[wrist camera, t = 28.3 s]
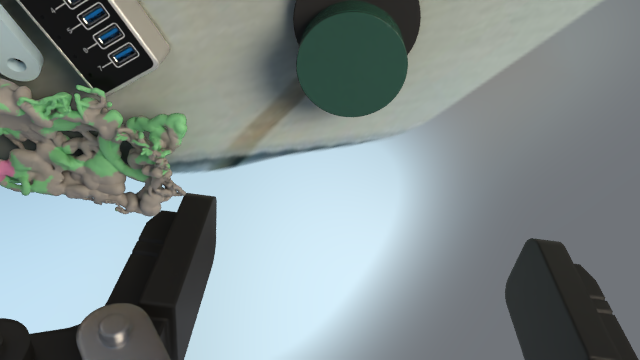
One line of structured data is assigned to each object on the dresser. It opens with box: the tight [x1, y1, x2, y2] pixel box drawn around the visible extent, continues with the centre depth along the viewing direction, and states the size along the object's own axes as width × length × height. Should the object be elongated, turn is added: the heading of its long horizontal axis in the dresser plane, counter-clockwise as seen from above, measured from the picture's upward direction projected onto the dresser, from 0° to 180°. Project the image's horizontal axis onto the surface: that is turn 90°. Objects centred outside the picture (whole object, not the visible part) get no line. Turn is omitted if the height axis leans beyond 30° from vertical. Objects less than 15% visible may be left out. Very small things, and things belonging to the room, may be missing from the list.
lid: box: [296, 1, 408, 117], centre depth 28 cm, size 6×6×2 cm
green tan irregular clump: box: [0, 78, 187, 216], centre depth 30 cm, size 18×5×11 cm
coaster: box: [293, 0, 421, 55], centre depth 28 cm, size 7×7×1 cm
